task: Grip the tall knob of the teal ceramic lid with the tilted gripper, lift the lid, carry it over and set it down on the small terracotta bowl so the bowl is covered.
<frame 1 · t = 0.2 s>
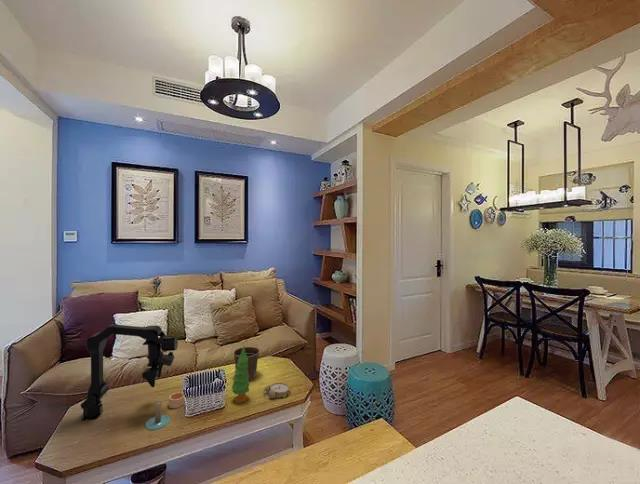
hand: (156, 382, 144), 14 cm above the table, tool pointing down, fingers open, 9 cm apart
teacup: (203, 386, 168), on the table
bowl: (176, 404, 149), on the table
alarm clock: (276, 394, 162), on the table
lid: (157, 423, 135), on the table
plant pot: (246, 377, 180), on the table
decorative tree: (240, 399, 155), on the table
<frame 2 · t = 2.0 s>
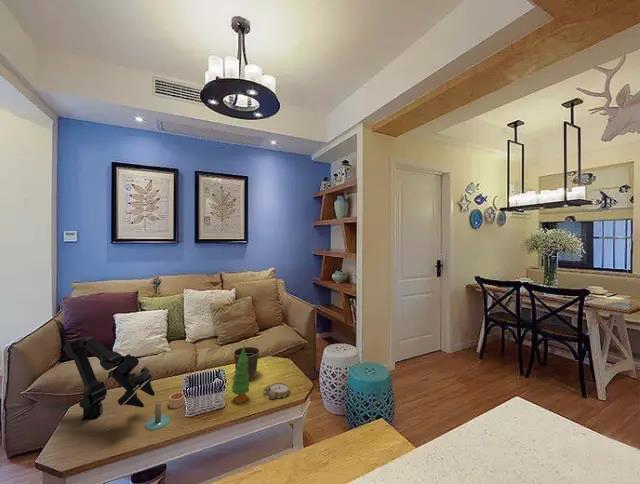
hand: (149, 400, 134), 11 cm above the table, tool tilted 45°, fingers open, 9 cm apart
nothing on the table moved.
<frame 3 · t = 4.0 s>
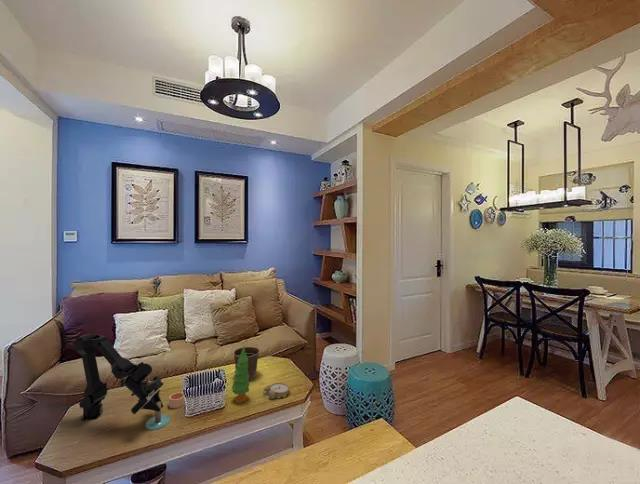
hand: (161, 408, 134), 7 cm above the table, tool tilted 45°, fingers closed on lid, 2 cm apart
lid: (157, 422, 135), on the table, touching gripper
everything else where it was.
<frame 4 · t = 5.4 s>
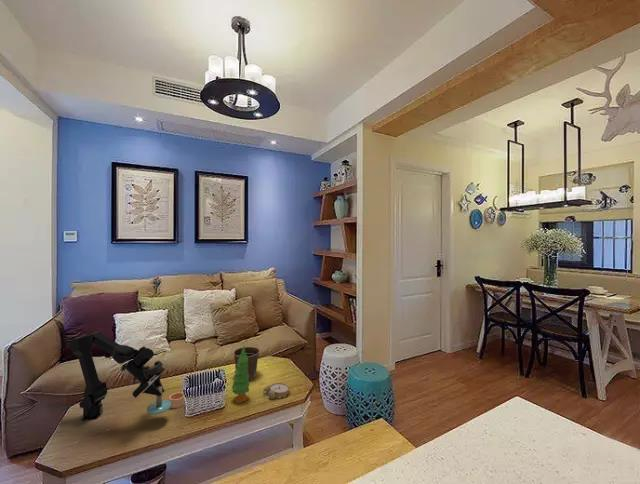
hand: (162, 393, 135), 13 cm above the table, tool tilted 45°, fingers closed on lid, 2 cm apart
lid: (159, 407, 135), point 7 cm above the table, touching gripper
everything else where it was.
when the fingers open (12 cm above the table, at t = 7.1 s): lid stays where it is, point 4 cm above the table.
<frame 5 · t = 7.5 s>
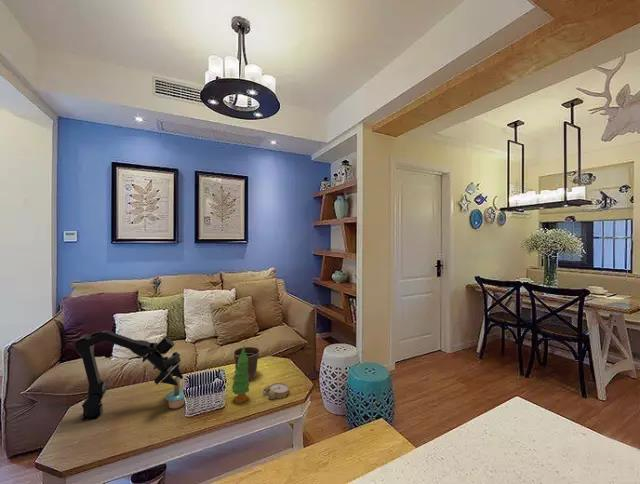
hand: (179, 381, 149), 12 cm above the table, tool tilted 45°, fingers open, 6 cm apart
lid: (176, 396, 149), point 4 cm above the table
everything else where it was.
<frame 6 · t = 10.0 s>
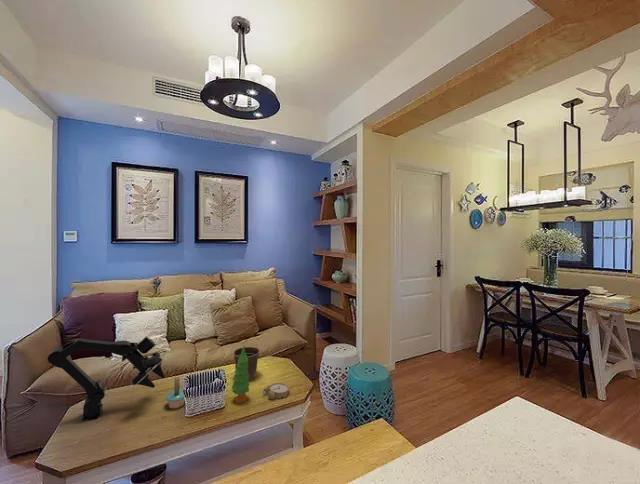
hand: (159, 382, 148), 12 cm above the table, tool tilted 45°, fingers open, 9 cm apart
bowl: (176, 404, 149), on the table, touching lid
lid: (176, 396, 149), point 4 cm above the table, touching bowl
everything else where it was.
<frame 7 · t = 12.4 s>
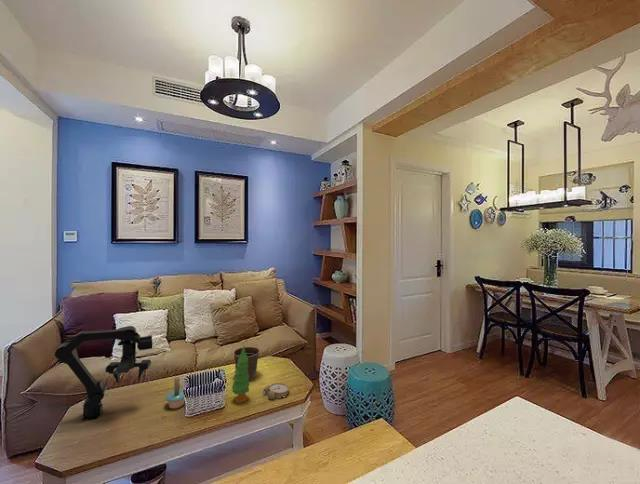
hand: (128, 382, 145), 13 cm above the table, tool pointing down, fingers open, 9 cm apart
nothing on the table moved.
at the end: lid 0.1 cm off-centre on the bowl, point 4.5 cm above the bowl's base; lid tilted 0°; the gripper is holding nothing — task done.
